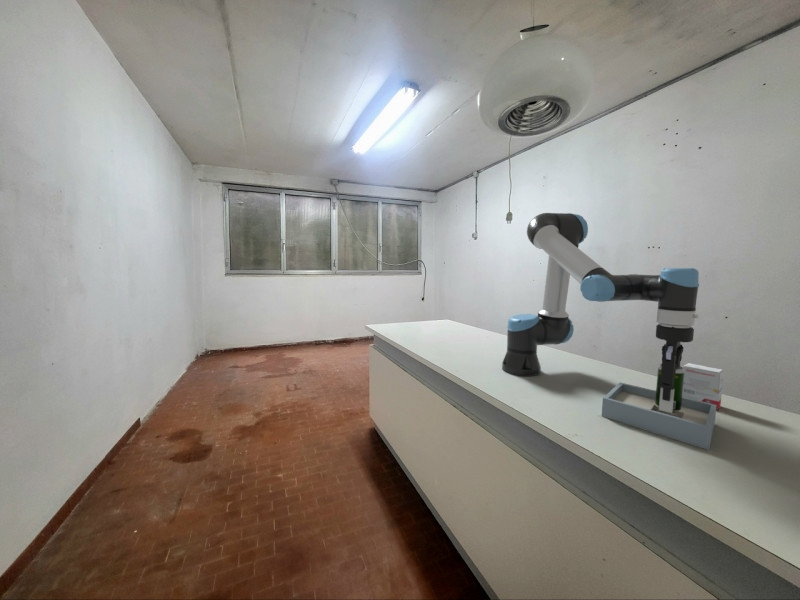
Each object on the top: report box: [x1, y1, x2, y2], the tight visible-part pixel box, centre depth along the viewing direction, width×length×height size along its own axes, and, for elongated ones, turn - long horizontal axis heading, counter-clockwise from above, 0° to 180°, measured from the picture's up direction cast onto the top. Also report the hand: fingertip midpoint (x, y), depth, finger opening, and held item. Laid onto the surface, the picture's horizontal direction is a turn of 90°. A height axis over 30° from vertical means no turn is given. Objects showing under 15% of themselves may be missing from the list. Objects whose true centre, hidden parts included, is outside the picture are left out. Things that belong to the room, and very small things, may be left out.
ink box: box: [682, 362, 724, 410], centre depth 95 cm, size 9×5×12 cm, turn 33°
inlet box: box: [601, 381, 717, 451], centre depth 85 cm, size 22×18×6 cm
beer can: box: [655, 363, 684, 412], centre depth 83 cm, size 5×5×12 cm
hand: (667, 407), depth 83 cm, fingers closed on beer can, 5 cm apart
